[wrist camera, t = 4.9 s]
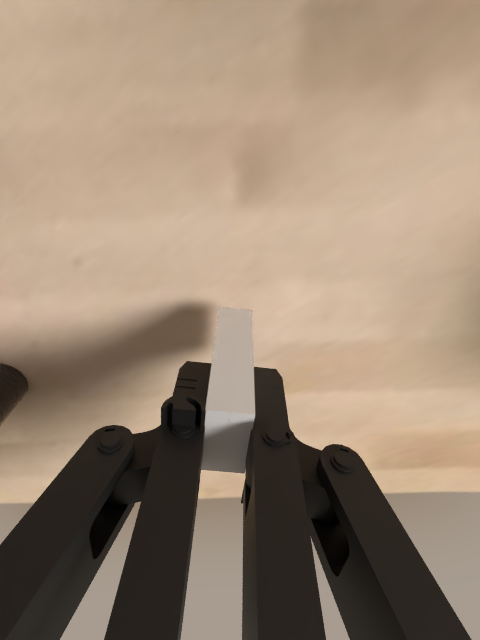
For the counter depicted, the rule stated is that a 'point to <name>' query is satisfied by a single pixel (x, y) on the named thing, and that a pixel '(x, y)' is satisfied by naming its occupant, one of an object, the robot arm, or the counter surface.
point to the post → (10, 389)
